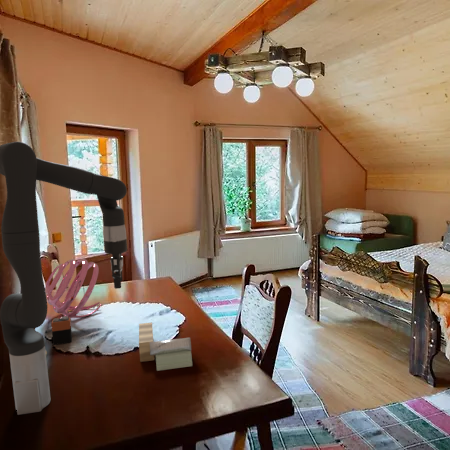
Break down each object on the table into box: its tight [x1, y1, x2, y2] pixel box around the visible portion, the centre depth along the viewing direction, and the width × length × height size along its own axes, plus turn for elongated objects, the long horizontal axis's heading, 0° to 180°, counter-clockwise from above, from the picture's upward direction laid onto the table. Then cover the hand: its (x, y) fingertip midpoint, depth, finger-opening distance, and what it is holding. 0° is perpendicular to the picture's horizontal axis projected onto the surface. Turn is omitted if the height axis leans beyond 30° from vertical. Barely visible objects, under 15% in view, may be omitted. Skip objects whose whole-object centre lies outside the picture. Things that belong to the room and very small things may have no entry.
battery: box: [50, 316, 73, 346], centre depth 157 cm, size 4×7×10 cm, turn 107°
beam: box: [138, 322, 156, 363], centre depth 147 cm, size 18×5×7 cm, turn 12°
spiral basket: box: [44, 258, 102, 319], centre depth 186 cm, size 28×28×27 cm
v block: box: [155, 349, 193, 372], centre depth 137 cm, size 10×12×4 cm
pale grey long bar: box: [150, 337, 192, 356], centre depth 137 cm, size 14×4×4 cm, turn 102°
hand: (118, 284), depth 135 cm, fingers open, 8 cm apart
